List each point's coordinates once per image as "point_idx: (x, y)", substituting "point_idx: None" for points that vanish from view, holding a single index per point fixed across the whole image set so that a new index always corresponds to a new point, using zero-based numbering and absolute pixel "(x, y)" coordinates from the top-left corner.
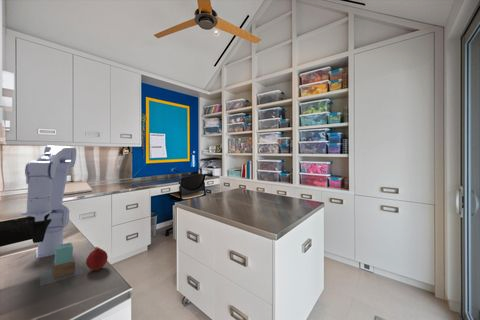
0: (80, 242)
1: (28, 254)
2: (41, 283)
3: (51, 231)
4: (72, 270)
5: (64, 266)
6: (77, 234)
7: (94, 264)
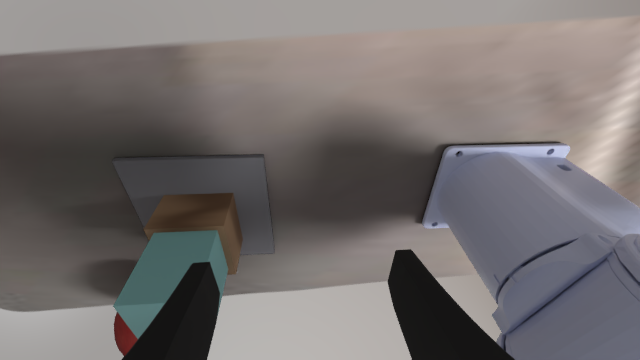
0: None
1: (551, 116)
2: (135, 164)
3: (505, 288)
4: None
5: None
6: None
7: None
